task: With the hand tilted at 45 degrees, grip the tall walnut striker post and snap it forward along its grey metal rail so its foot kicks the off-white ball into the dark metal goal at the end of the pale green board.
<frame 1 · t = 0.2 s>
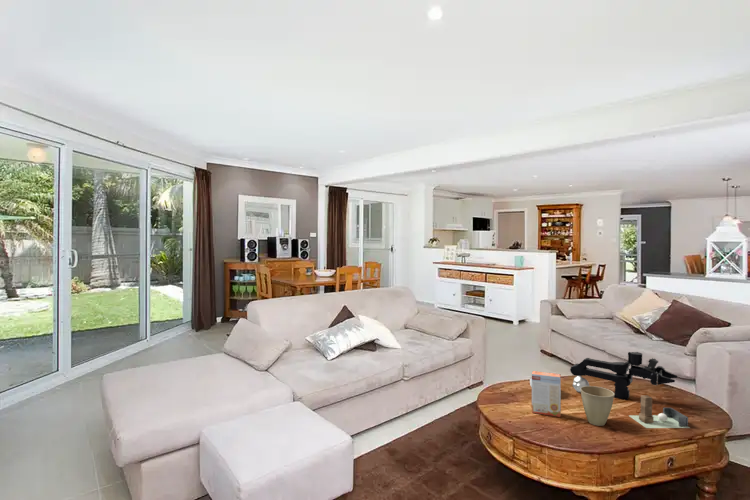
hand: (676, 378, 221), 17 cm above the table, tool horizontal, fingers open, 9 cm apart
cereal bowl: (544, 392, 247), on the table
striker: (646, 408, 206), point 7 cm above the table, slide at 0.0 cm
pitch: (658, 423, 206), on the table
ball: (662, 417, 206), point 3 cm above the table, touching pitch
plant pot: (596, 423, 207), on the table
cracker box: (546, 413, 218), on the table
shiny silver sphere: (580, 392, 247), on the table
goal: (674, 421, 206), resting on pitch
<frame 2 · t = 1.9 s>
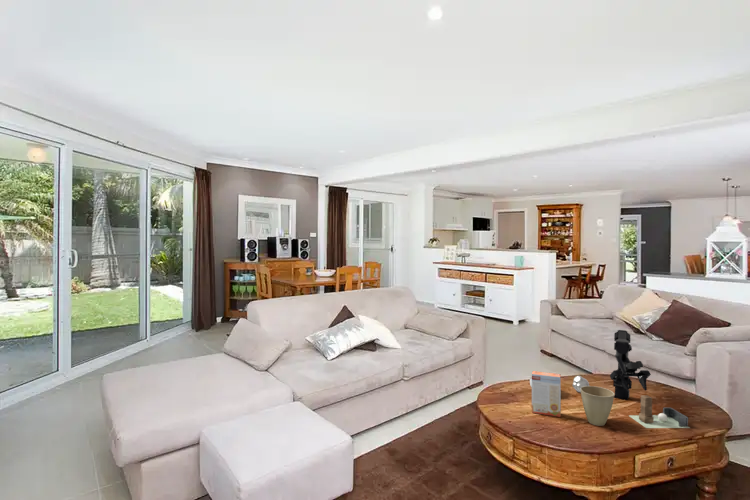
hand: (637, 390, 213), 14 cm above the table, tool tilted 45°, fingers open, 9 cm apart
nothing on the table moved.
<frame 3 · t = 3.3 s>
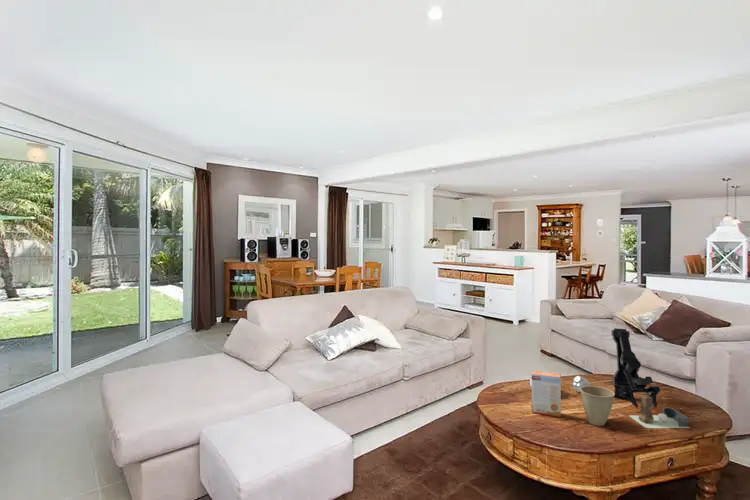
hand: (646, 407, 205), 8 cm above the table, tool tilted 45°, fingers open, 9 cm apart
nothing on the table moved.
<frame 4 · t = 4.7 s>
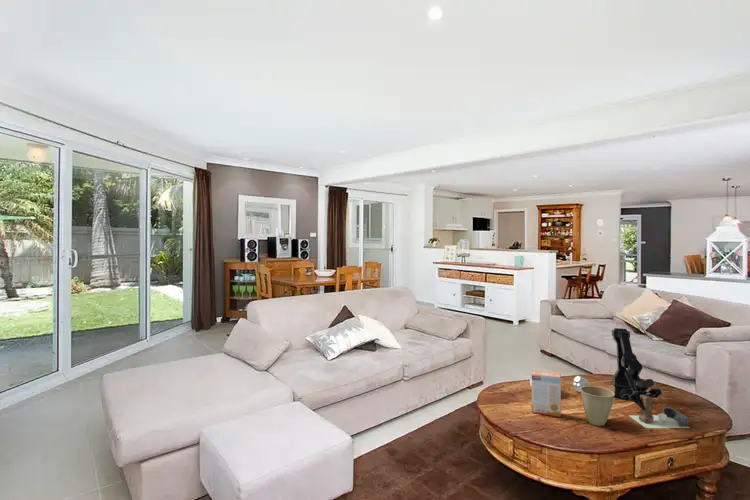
hand: (648, 409, 204), 7 cm above the table, tool tilted 45°, fingers closed on striker, 3 cm apart
striker: (646, 408, 206), point 7 cm above the table, slide at 0.0 cm, touching gripper
everything else where it was.
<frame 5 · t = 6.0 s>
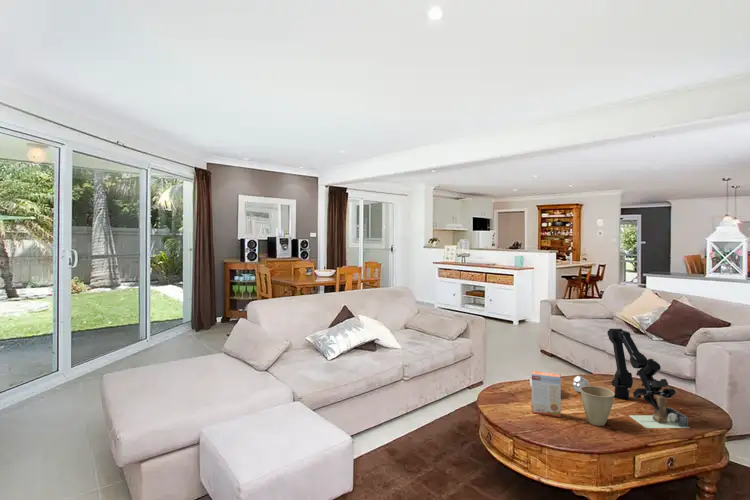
hand: (662, 409, 204), 7 cm above the table, tool tilted 45°, fingers closed on striker, 3 cm apart
striker: (660, 408, 206), point 7 cm above the table, slide at 6.9 cm, touching gripper
ball: (672, 417, 206), point 3 cm above the table, tilted 142°, touching pitch
everything else where it was.
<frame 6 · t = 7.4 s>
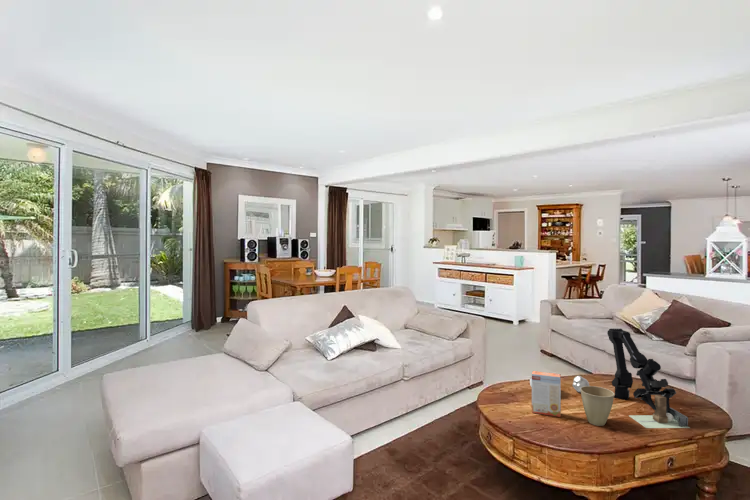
hand: (662, 409, 204), 7 cm above the table, tool tilted 45°, fingers open, 6 cm apart
striker: (660, 408, 206), point 7 cm above the table, slide at 7.0 cm
ball: (668, 417, 206), point 3 cm above the table, tilted 82°, touching pitch
everything else where it was.
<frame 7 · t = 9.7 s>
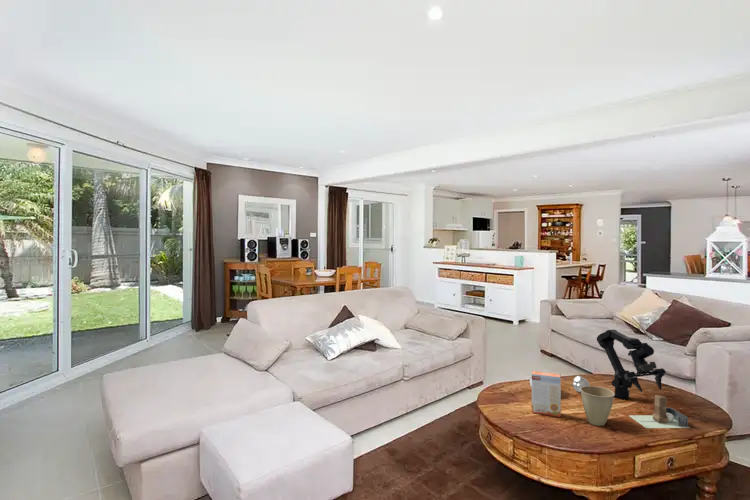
hand: (651, 390, 216), 12 cm above the table, tool tilted 35°, fingers open, 9 cm apart
ball: (669, 417, 206), point 3 cm above the table, tilted 90°, touching pitch
everything else where it was.
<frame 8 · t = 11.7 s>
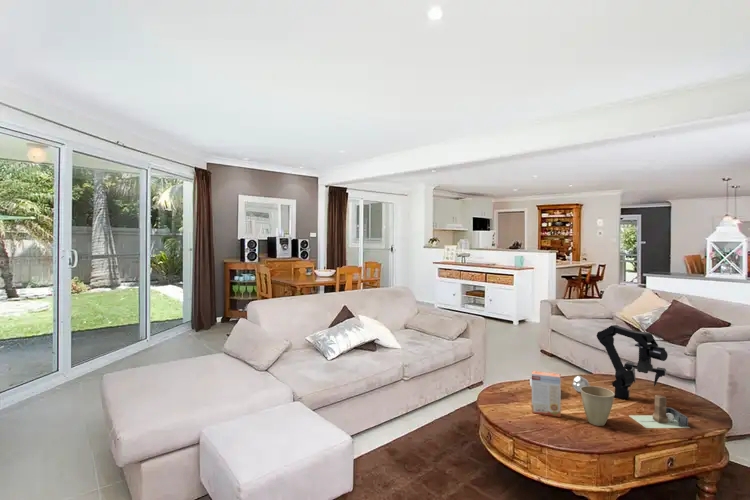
hand: (644, 384, 226), 12 cm above the table, tool pointing down, fingers open, 9 cm apart
ball: (669, 417, 206), point 3 cm above the table, tilted 97°, touching pitch
everything else where it was.
at the end: ball 2.3 cm from the goal (horizontally); striker slide at 7.0 cm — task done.
